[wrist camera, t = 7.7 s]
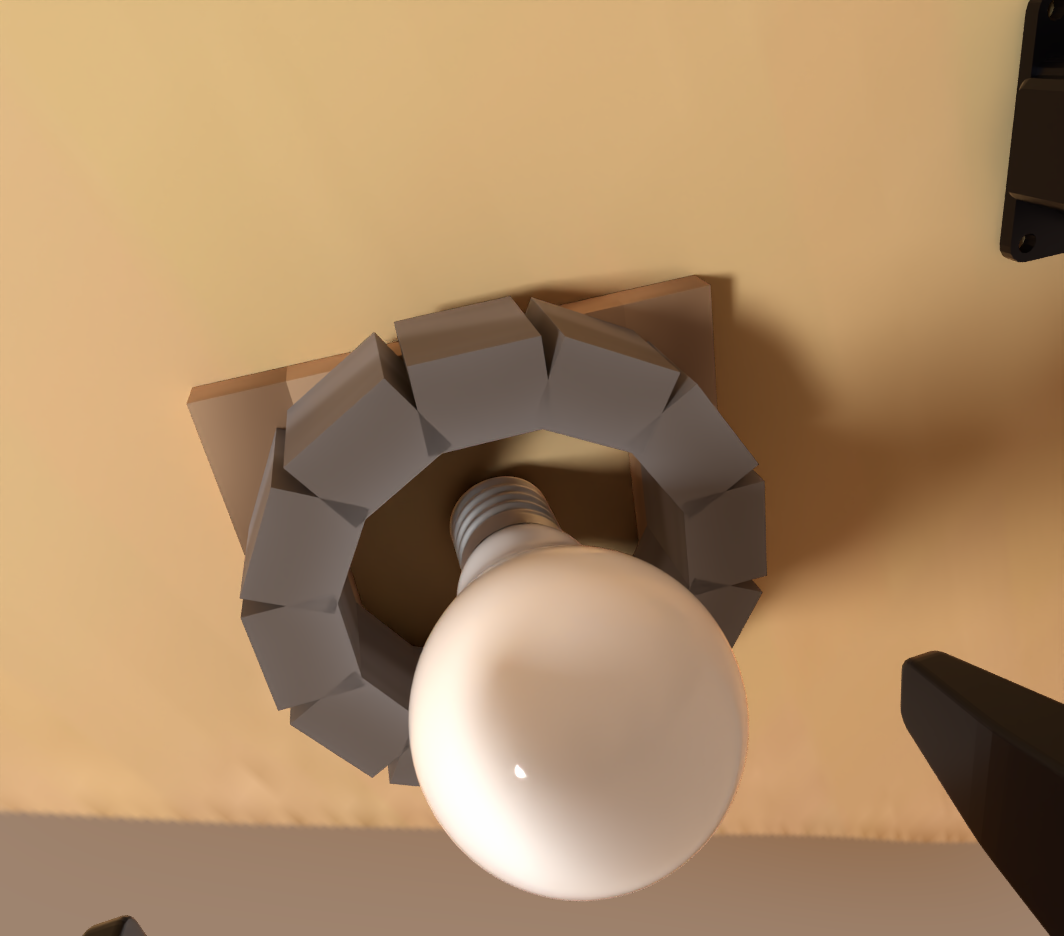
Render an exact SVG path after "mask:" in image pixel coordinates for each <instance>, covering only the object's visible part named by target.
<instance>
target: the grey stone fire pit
mask: <svg viewBox="0 0 1064 936" xmlns="http://www.w3.org/2000/svg"><path fill="white" fill-rule="evenodd" d="M394 324H395V328H396V333H397V337H398V342H394V343H389V344H386V343H385V342H384V341H383V340H382V339H381V338H380V337H379V336H378V335H377V334H376V333H375V332H374V333H372V334H371V335H370V336H369V337H368V338H367V339H366V340H365V341H364V342H362V343H361V344H360V345H359V346H358V347H357V348H356V349H355V350H354V351H352V352H349V353H345V354H340V355H336V356H332V357H327V358H323V359H318V360H314V361H309V362H305V363H300V364H296V365H291V366H287V367H283V368H278V369H274V370H269V371H265V372H260V373H256V374H251V375H247V376H243V377H238V378H234V379H229V380H225V381H220V382H216V383H211V384H207V385H202V386H198V387H194V388H192V390H191V393H190V396H189V398H188V401H187V406H188V409H189V411H190V414H191V417H192V419H193V422H194V424H195V427H196V430H197V432H198V435H199V437H200V440H201V443H202V445H203V448H204V450H205V453H206V456H207V458H208V461H209V463H210V466H211V469H212V471H213V474H214V476H215V479H216V482H217V484H218V487H219V489H220V492H221V495H222V497H223V500H224V502H225V505H226V508H227V510H228V513H229V515H230V518H231V521H232V523H233V526H234V529H235V531H236V534H237V536H238V539H239V542H240V544H241V547H242V549H243V552H244V555H245V562H244V569H243V577H242V585H241V592H240V599H243V604H242V612H241V620H242V622H243V625H244V627H245V630H246V632H247V635H248V637H249V640H250V642H251V645H252V647H253V649H254V652H255V654H256V657H257V659H258V662H259V664H260V667H261V669H262V672H263V674H264V677H265V679H266V682H267V684H268V687H269V689H270V692H271V694H272V696H273V699H274V701H275V704H276V706H277V709H278V711H279V710H283V709H286V708H290V707H291V710H290V725H292V726H293V727H295V728H296V729H298V730H299V731H301V732H303V733H304V734H306V735H307V736H309V737H310V738H312V739H313V740H315V741H316V742H318V743H319V744H321V745H323V746H324V747H326V748H327V749H329V750H330V751H332V752H333V753H335V754H336V755H338V756H340V757H341V758H343V759H344V760H346V761H347V762H349V763H350V764H352V765H353V766H355V767H357V768H358V769H360V770H361V771H363V772H364V773H366V774H367V775H369V776H370V777H372V778H373V777H374V776H375V775H376V774H378V773H379V772H380V771H381V770H383V769H384V768H385V767H386V766H388V771H389V780H390V784H400V785H410V786H420V784H419V781H418V779H417V775H416V772H415V769H414V765H413V760H412V756H411V750H410V742H409V729H408V711H409V699H410V692H411V686H412V681H413V677H414V673H415V669H416V666H417V663H418V660H419V657H420V655H421V652H422V650H423V647H416V646H412V645H411V644H409V643H408V642H407V641H405V640H404V639H403V638H402V637H400V636H399V635H398V634H396V633H395V632H394V631H393V630H391V629H390V628H389V627H387V626H386V625H385V624H384V623H382V622H381V621H380V620H378V619H377V618H376V617H375V616H373V615H372V614H371V613H369V612H368V611H367V610H366V609H364V608H363V606H362V603H361V600H360V597H359V593H358V590H357V587H356V584H355V581H354V578H353V574H352V571H351V568H350V565H351V562H352V559H353V556H354V553H355V550H356V547H357V544H358V541H359V538H360V535H361V531H362V528H363V525H364V522H365V520H366V519H367V518H368V517H369V516H370V515H371V514H373V513H374V512H375V511H376V510H377V509H378V508H380V507H381V506H382V505H383V504H384V503H385V502H387V501H388V500H389V499H390V498H391V497H392V496H393V495H395V494H396V493H397V492H398V491H399V490H400V489H402V488H403V487H404V486H405V485H406V484H407V483H408V482H410V481H411V480H412V479H413V478H414V477H415V476H417V475H418V474H419V473H420V472H421V471H422V470H424V469H425V468H426V467H427V466H428V465H429V464H430V463H432V462H433V461H434V460H435V459H436V458H437V457H439V456H440V455H441V454H442V453H446V452H450V451H454V450H459V449H463V448H467V447H471V446H475V445H479V444H483V443H487V442H491V441H496V440H500V439H504V438H508V437H512V436H516V435H520V434H524V433H528V432H532V431H537V430H541V429H544V430H548V431H552V432H555V433H559V434H563V435H567V436H570V437H574V438H578V439H582V440H585V441H589V442H593V443H597V444H600V445H604V446H608V447H612V448H615V449H619V450H623V451H627V452H629V461H630V470H631V479H632V488H633V497H634V505H635V514H636V523H637V532H638V541H639V544H638V546H637V548H636V550H635V552H634V554H633V556H634V557H637V558H639V559H641V560H644V561H646V562H648V563H650V564H652V565H654V566H656V567H657V568H659V569H661V570H663V571H664V572H666V573H667V574H669V575H670V576H672V577H673V578H675V579H676V580H677V581H679V582H680V583H681V584H682V585H684V586H685V587H686V588H687V589H688V590H689V591H690V592H691V593H692V594H694V595H695V596H696V597H697V598H698V600H699V601H700V602H701V603H702V604H703V605H704V606H705V607H706V609H707V610H708V611H709V612H710V614H711V615H712V616H713V618H714V619H715V620H716V622H717V623H718V625H719V626H720V628H721V630H722V631H723V633H724V635H725V636H726V638H727V640H728V642H729V644H730V646H731V648H733V646H734V644H735V642H736V640H737V638H738V637H739V635H740V633H741V631H742V629H743V627H744V625H745V624H746V622H747V620H748V618H749V616H750V614H751V613H752V611H753V609H754V607H755V605H756V603H757V601H758V600H759V598H760V596H761V594H762V591H761V590H760V589H759V588H758V586H757V585H756V584H755V583H754V581H753V580H752V579H756V578H759V577H763V576H767V561H766V521H765V481H764V480H763V479H762V478H761V477H760V476H759V475H758V474H757V473H756V472H755V471H754V470H753V469H754V468H755V467H756V466H757V465H759V464H758V463H757V461H756V460H755V459H754V457H753V456H752V455H751V454H750V452H749V451H748V450H747V448H746V447H745V446H744V444H743V443H742V442H741V440H740V439H739V438H738V437H737V435H736V434H735V433H734V431H733V430H732V429H731V427H730V426H729V425H728V424H727V422H726V421H725V420H724V418H723V417H722V416H721V414H720V413H719V412H718V410H717V395H716V376H715V357H714V338H713V320H712V301H711V285H710V284H708V283H707V282H705V281H703V280H702V279H700V278H698V277H697V276H695V275H692V276H688V277H683V278H679V279H674V280H670V281H666V282H661V283H657V284H652V285H648V286H643V287H639V288H634V289H630V290H625V291H621V292H617V293H612V294H608V295H603V296H599V297H594V298H590V299H585V300H581V301H576V302H572V303H568V304H563V305H559V306H557V305H554V304H551V303H548V302H545V301H542V300H539V299H536V298H533V297H531V299H530V302H529V305H528V307H527V310H526V313H523V312H522V311H521V309H520V308H519V307H518V305H517V304H516V303H515V302H514V300H513V299H512V298H511V296H508V297H504V298H499V299H495V300H490V301H486V302H481V303H477V304H472V305H468V306H463V307H459V308H454V309H450V310H445V311H441V312H436V313H432V314H427V315H422V316H418V317H413V318H409V319H404V320H400V321H395V322H394Z"/></svg>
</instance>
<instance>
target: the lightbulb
mask: <svg viewBox="0 0 1064 936" xmlns="http://www.w3.org/2000/svg"><path fill="white" fill-rule="evenodd" d="M450 534H451V538H452V541H453V544H454V548H455V551H456V554H457V558H458V561H459V565H460V568H461V571H462V572H461V575H460V578H459V583H458V588H457V596H456V598H455V599H454V600H453V601H452V602H451V603H450V605H449V606H448V607H447V608H446V610H445V611H444V612H443V614H442V615H441V617H440V618H439V620H438V621H437V623H436V624H435V626H434V628H433V629H432V631H431V633H430V635H429V637H428V639H427V641H426V643H425V645H424V647H423V650H422V652H421V655H420V657H419V660H418V663H417V666H416V669H415V673H414V677H413V681H412V686H411V692H410V699H409V711H408V729H409V742H410V750H411V756H412V760H413V765H414V769H415V772H416V775H417V779H418V781H419V784H420V787H421V789H422V792H423V794H424V796H425V799H426V801H427V803H428V805H429V807H430V808H431V810H432V812H433V814H434V815H435V817H436V819H437V820H438V822H439V823H440V825H441V826H442V828H443V829H444V830H445V832H446V833H447V835H448V836H449V837H450V838H451V839H452V840H453V842H454V843H455V844H456V845H457V846H458V847H459V848H460V849H461V850H462V851H463V852H464V853H465V854H466V855H467V856H468V857H469V858H470V859H471V860H472V861H474V862H475V863H476V864H477V865H479V866H480V867H481V868H482V869H484V870H485V871H487V872H488V873H490V874H491V875H493V876H495V877H496V878H498V879H500V880H502V881H503V882H505V883H507V884H509V885H512V886H514V887H516V888H518V889H521V890H524V891H526V892H529V893H532V894H536V895H539V896H543V897H548V898H553V899H559V900H568V901H594V900H602V899H609V898H614V897H619V896H622V895H626V894H630V893H633V892H635V891H638V890H641V889H643V888H646V887H648V886H650V885H652V884H654V883H656V882H658V881H660V880H662V879H664V878H665V877H667V876H669V875H670V874H672V873H673V872H675V871H676V870H678V869H679V868H680V867H681V866H683V865H684V864H685V863H686V862H688V861H689V860H690V859H691V858H692V857H693V856H694V855H695V854H696V853H697V852H698V851H699V850H700V849H701V848H702V847H703V846H704V845H705V844H706V843H707V841H708V840H709V839H710V838H711V837H712V835H713V834H714V833H715V831H716V830H717V828H718V827H719V826H720V824H721V822H722V821H723V819H724V817H725V816H726V814H727V812H728V810H729V808H730V806H731V804H732V802H733V800H734V798H735V795H736V793H737V790H738V787H739V784H740V781H741V778H742V775H743V771H744V767H745V762H746V756H747V750H748V740H749V713H748V704H747V697H746V692H745V687H744V683H743V679H742V675H741V672H740V669H739V666H738V663H737V660H736V658H735V655H734V653H733V650H732V648H731V646H730V644H729V642H728V640H727V638H726V636H725V635H724V633H723V631H722V630H721V628H720V626H719V625H718V623H717V622H716V620H715V619H714V618H713V616H712V615H711V614H710V612H709V611H708V610H707V609H706V607H705V606H704V605H703V604H702V603H701V602H700V601H699V600H698V598H697V597H696V596H695V595H694V594H692V593H691V592H690V591H689V590H688V589H687V588H686V587H685V586H684V585H682V584H681V583H680V582H679V581H677V580H676V579H675V578H673V577H672V576H670V575H669V574H667V573H666V572H664V571H663V570H661V569H659V568H657V567H656V566H654V565H652V564H650V563H648V562H646V561H644V560H641V559H639V558H637V557H634V556H631V555H629V554H626V553H622V552H619V551H615V550H611V549H606V548H601V547H595V546H586V545H582V544H580V543H579V542H578V541H577V540H576V539H574V538H573V537H571V536H570V535H568V534H567V533H565V532H563V531H562V530H561V528H560V526H559V524H558V522H557V520H556V518H555V516H554V514H553V512H552V510H551V508H550V506H549V504H548V502H547V501H546V499H545V497H544V495H543V494H542V493H541V491H540V490H539V489H538V488H537V487H536V486H534V485H533V484H532V483H530V482H528V481H526V480H524V479H521V478H517V477H509V476H502V477H495V478H490V479H487V480H484V481H482V482H480V483H478V484H476V485H474V486H473V487H471V488H470V489H469V490H467V491H466V492H465V493H464V494H463V495H462V496H461V498H460V499H459V500H458V502H457V503H456V505H455V507H454V509H453V511H452V514H451V518H450Z"/></svg>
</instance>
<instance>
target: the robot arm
mask: <svg viewBox="0 0 1064 936" xmlns="http://www.w3.org/2000/svg"><path fill="white" fill-rule="evenodd" d="M1051 1H1052V0H1030V1H1029V3H1028V6H1027V9H1026V14H1025V23H1024V32H1023V41H1022V50H1021V59H1020V68H1019V77H1018V85H1017V94H1016V103H1015V112H1014V121H1013V130H1012V139H1011V148H1010V157H1009V166H1008V175H1007V184H1006V193H1005V202H1004V211H1003V219H1002V228H1001V237H1000V251H1001V253H1002V255H1003V256H1004V257H1006V258H1008V259H1011V260H1014V261H1017V262H1027V261H1031V260H1036V259H1040V258H1044V257H1048V256H1053V255H1057V254H1061V253H1064V0H1053V1H1054V9H1053V12H1052V14H1051V16H1050V17H1048V11H1047V10H1048V7H1049V4H1050V3H1051ZM1024 236H1025V240H1024V243H1023V244H1022V245H1021V247H1020V248H1019V243H1020V240H1021V239H1022V238H1023V237H1024ZM901 714H902V718H903V721H904V724H905V726H906V728H907V730H908V731H909V733H910V735H911V736H912V738H913V739H914V741H915V743H916V744H917V746H918V747H919V749H920V751H921V752H922V754H923V755H924V757H925V759H926V760H927V762H928V763H929V765H930V767H931V768H932V770H933V771H934V773H935V775H936V776H937V778H938V779H939V781H940V782H941V784H942V786H943V787H944V789H945V790H946V792H947V794H948V795H949V797H950V798H951V800H952V802H953V803H954V805H955V806H956V808H957V810H958V811H959V813H960V814H961V816H962V818H963V819H964V821H965V822H966V824H967V826H968V827H969V829H970V830H971V832H972V833H973V835H974V836H975V838H976V839H977V841H978V842H979V844H980V845H981V846H982V848H983V849H984V851H985V852H986V853H987V855H988V856H989V857H990V859H991V860H992V861H993V863H994V864H995V865H996V867H997V868H998V869H999V870H1000V872H1001V873H1002V874H1003V876H1004V877H1005V878H1006V879H1007V881H1008V882H1009V883H1010V885H1011V886H1012V887H1013V889H1014V890H1015V891H1016V892H1017V894H1018V895H1019V896H1020V898H1021V899H1022V900H1023V902H1024V903H1025V904H1026V905H1027V906H1028V908H1029V909H1030V911H1031V912H1032V913H1033V914H1034V916H1035V917H1036V918H1037V920H1038V921H1039V922H1040V923H1041V925H1042V926H1043V927H1044V929H1045V930H1046V931H1047V932H1048V933H1049V935H1050V936H1064V704H1063V703H1060V702H1058V701H1056V700H1053V699H1051V698H1049V697H1046V696H1044V695H1042V694H1039V693H1037V692H1035V691H1032V690H1030V689H1028V688H1025V687H1023V686H1021V685H1018V684H1016V683H1014V682H1012V681H1009V680H1007V679H1005V678H1002V677H1000V676H998V675H995V674H993V673H991V672H988V671H986V670H984V669H981V668H979V667H977V666H974V665H972V664H970V663H967V662H965V661H963V660H960V659H958V658H956V657H954V656H951V655H949V654H947V653H944V652H940V651H930V652H927V653H924V654H921V655H918V656H915V657H911V658H909V659H907V660H905V662H904V664H903V665H902V677H901ZM82 936H147V935H146V934H145V933H144V931H143V930H142V928H141V927H140V925H139V924H138V922H137V921H136V920H135V919H134V918H133V917H131V916H128V915H125V916H120V917H117V918H114V919H111V920H108V921H105V922H102V923H99V924H96V925H94V926H92V927H91V928H89V929H88V930H87V931H86V932H85V933H84V934H83V935H82Z"/></svg>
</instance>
